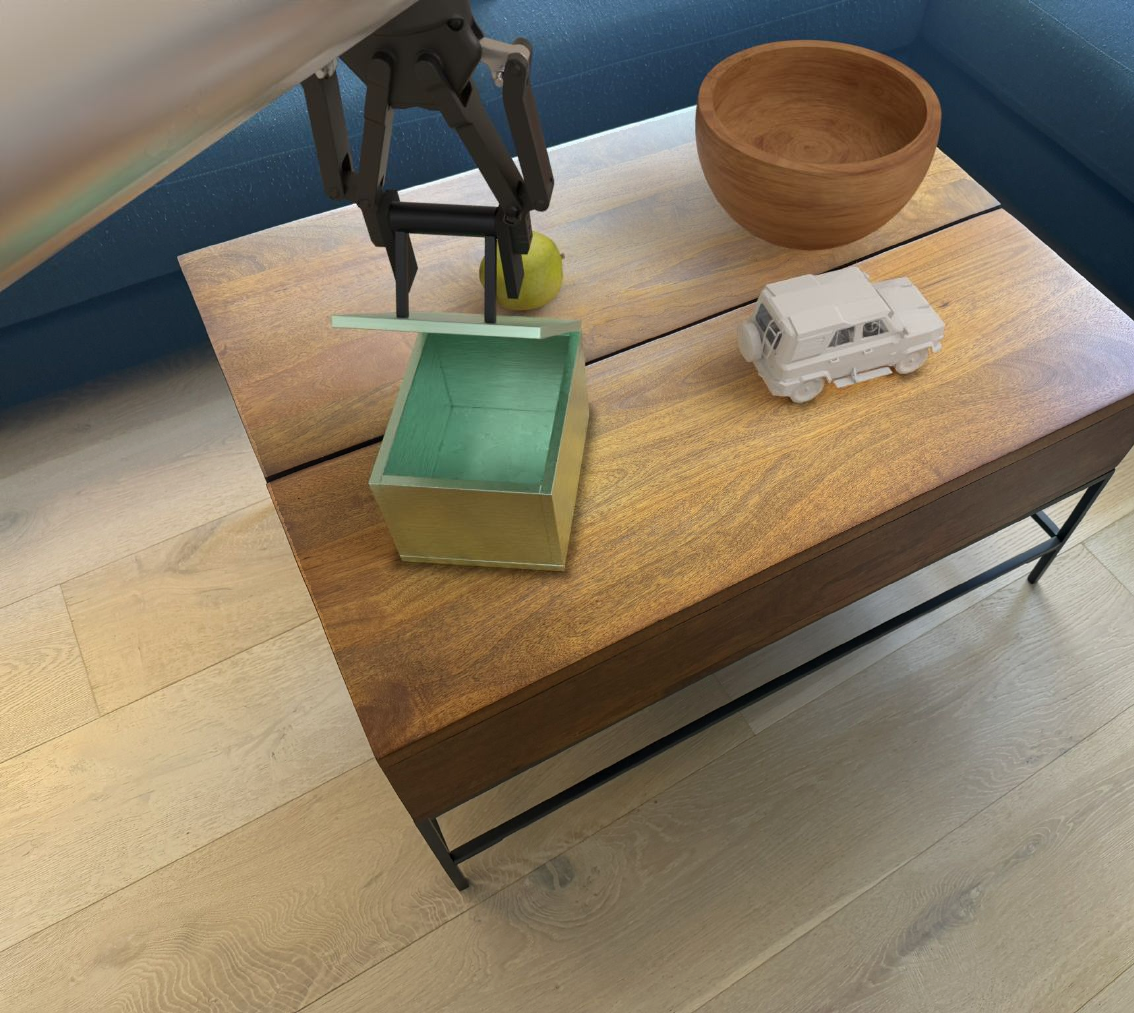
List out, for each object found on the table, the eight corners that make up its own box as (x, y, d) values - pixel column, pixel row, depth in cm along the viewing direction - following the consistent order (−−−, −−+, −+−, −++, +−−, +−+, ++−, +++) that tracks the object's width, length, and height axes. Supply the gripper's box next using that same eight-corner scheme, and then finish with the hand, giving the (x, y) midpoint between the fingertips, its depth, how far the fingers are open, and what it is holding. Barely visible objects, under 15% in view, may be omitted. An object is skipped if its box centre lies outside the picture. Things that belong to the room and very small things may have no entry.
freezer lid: (540, 339, 58) (543, 205, 56) (331, 327, 59) (326, 194, 57) (581, 329, 77) (584, 228, 75) (421, 320, 77) (420, 219, 75)
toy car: (947, 372, 90) (976, 294, 81) (764, 424, 85) (775, 347, 77) (897, 307, 95) (920, 228, 87) (723, 352, 91) (730, 274, 83)
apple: (585, 300, 95) (580, 238, 88) (515, 340, 91) (504, 278, 85) (541, 264, 98) (533, 201, 92) (472, 301, 95) (458, 238, 88)
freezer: (564, 571, 75) (551, 494, 66) (401, 561, 76) (367, 483, 67) (589, 413, 86) (581, 328, 77) (446, 405, 86) (422, 319, 77)
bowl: (675, 170, 109) (677, 46, 97) (873, 154, 111) (900, 31, 99) (713, 309, 94) (721, 184, 82) (939, 287, 97) (980, 163, 85)
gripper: (587, -96, 47) (607, 257, 66) (216, -112, 48) (339, 242, 67) (567, -32, 43) (595, 327, 62) (159, -51, 44) (308, 310, 62)
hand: (462, 282), depth 64 cm, fingers closed on freezer lid, 7 cm apart
